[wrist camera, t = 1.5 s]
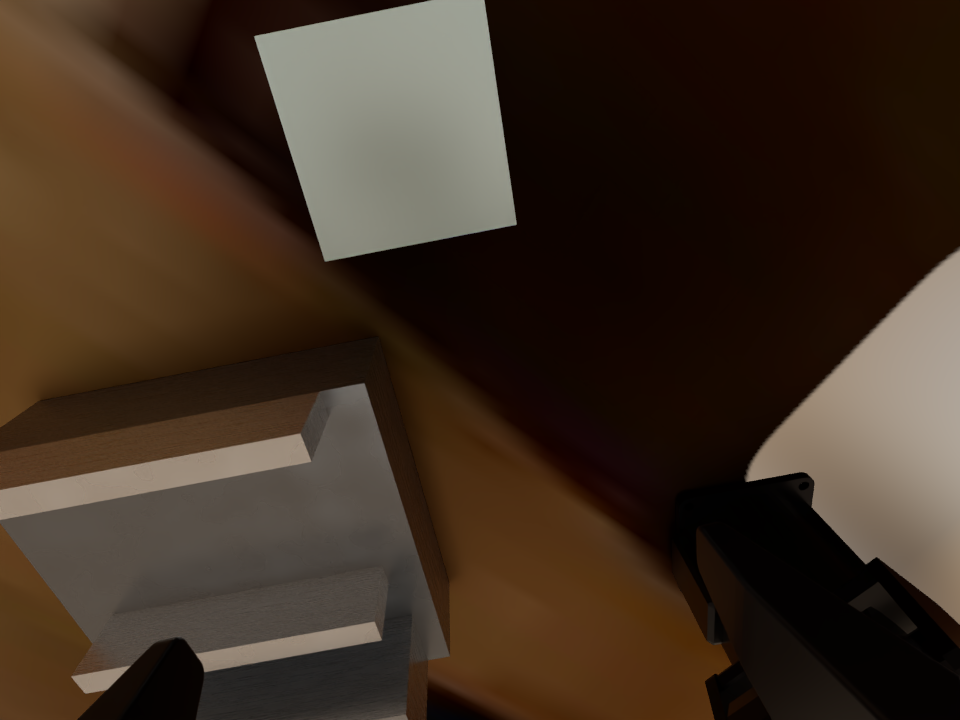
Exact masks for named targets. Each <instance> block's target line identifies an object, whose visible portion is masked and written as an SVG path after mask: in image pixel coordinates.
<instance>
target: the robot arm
mask: <svg viewBox="0 0 960 720" xmlns="http://www.w3.org/2000/svg"><path fill="white" fill-rule="evenodd" d="M813 491H814V480H812V478H811V477H810V476H809V475H808V474H807V473H803V472H799V473H794V474H788V475H783V476H777V477H772V478H767V479H762V480H756V481H750V482H745V483H739V484H734V485H728V486H723V487H717V488H712V489H706V490H701V491H696V492H690V493H685V494H682V495H681V496H679V497H678V498H677V500H676V534H674V535H673V537H672V573H673V575H674V577H675V579H676V581H677V584H678V587H679V589H680V591H681V592H682V593H683V595H684V597H685V599H686V601H687V603H688V605H689V607H690V609H691V611H692V613H693V615H694V617H695V619H696V621H697V623H698V625H699V627H700V629H701V631H702V633H703V635H704V637H705V638H706V640H707V641H708V642H709V643H711V644H712V645H716V644H721V645H722V647H723V648H724V650H725V652H726V654H727V656H728V658H729V660H730V662H731V664H732V665H731V666H730V667H728V668H727V669H725V670H724V671H723V672H721V673H720V674H719V675H717V674H714V675H713V676H711V677H710V678H709V679H707V680H706V681H705V684H706V688H707V692H708V695H709V699H710V703H711V707H712V711H713V715H714V719H715V720H960V625H959V624H958V623H957V622H956V621H955V620H954V619H953V618H952V617H951V616H950V615H949V614H948V613H947V612H945V610H943V609H942V608H941V607H940V606H939V605H938V604H937V603H935V602H934V601H933V600H932V599H930V598H929V597H928V596H926V595H925V594H924V593H923V592H921V591H920V590H919V589H917V588H916V587H915V586H914V585H912V584H911V583H909V582H908V581H907V580H906V579H905V578H903V577H902V576H900V575H899V574H898V573H897V572H895V571H894V570H893V569H891V568H890V567H889V566H888V565H886V564H885V563H884V562H883V561H881V560H880V559H879V558H877V557H876V558H875V559H873V560H872V561H870V562H869V563H868V564H865V563H864V562H863V561H862V560H861V559H860V558H859V557H858V556H857V555H856V554H855V553H854V552H853V551H852V550H851V549H850V547H849V546H848V545H847V544H846V543H845V542H844V541H843V540H842V539H841V538H840V537H839V536H838V535H837V534H836V533H835V532H834V531H833V530H832V528H831V527H830V526H829V525H828V524H827V523H826V522H825V521H824V520H823V519H822V518H821V517H820V516H819V515H818V514H817V513H816V512H815V511H814V510H813V508H812V507H811V506H812V498H813ZM687 503H689V504H688V505H686V504H687ZM203 683H204V667H203V664H202V662H201V661H200V660H199V658H198V657H197V655H196V654H195V652H194V651H193V650H192V648H191V647H190V645H189V644H188V643H187V641H186V640H185V639H184V638H182V637H173V638H168V639H164V640H160V641H157V642H155V643H154V644H152V645H151V646H150V647H149V648H148V649H147V650H146V651H145V652H144V653H143V654H142V655H141V656H140V657H139V658H138V659H137V660H136V661H135V662H134V663H133V664H132V665H131V666H130V667H129V668H128V669H127V670H126V671H125V672H124V673H123V674H122V675H121V676H120V677H119V678H118V679H117V680H116V681H115V682H114V683H113V684H112V685H111V686H110V687H109V688H108V689H107V690H106V691H105V692H104V693H103V694H102V695H101V696H100V697H99V698H98V699H97V700H96V701H95V702H94V703H93V704H92V705H91V706H90V707H89V708H88V709H87V710H86V711H85V712H84V713H83V714H82V715H81V716H80V717H79V718H78V719H77V720H196V717H197V712H198V707H199V702H200V697H201V692H202V687H203Z"/></svg>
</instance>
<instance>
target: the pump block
mask: <svg viewBox="0 0 960 720" xmlns="http://www.w3.org/2000/svg"><path fill="white" fill-rule="evenodd" d="M254 37H255V41H256V44H257V47H258V50H259V53H260V56H261V60H262V63H263V66H264V69H265V72H266V76H267V79H268V82H269V85H270V88H271V91H272V95H273V98H274V101H275V104H276V107H277V111H278V114H279V117H280V120H281V123H282V126H283V130H284V133H285V136H286V139H287V142H288V146H289V149H290V152H291V155H292V158H293V161H294V165H295V168H296V171H297V174H298V177H299V181H300V184H301V187H302V190H303V193H304V196H305V200H306V203H307V206H308V209H309V212H310V216H311V219H312V222H313V225H314V228H315V231H316V235H317V238H318V241H319V244H320V247H321V251H322V254H323V257H324V260H325V262H326V261H331V260H336V259H342V258H347V257H352V256H357V255H362V254H367V253H373V252H378V251H383V250H388V249H393V248H398V247H404V246H409V245H414V244H419V243H424V242H430V241H435V240H440V239H445V238H450V237H455V236H461V235H466V234H471V233H476V232H481V231H486V230H492V229H497V228H502V227H507V226H512V225H517V223H516V216H515V209H514V202H513V195H512V188H511V182H510V175H509V168H508V161H507V154H506V147H505V140H504V133H503V126H502V119H501V112H500V106H499V99H498V92H497V85H496V78H495V71H494V64H493V57H492V50H491V43H490V36H489V29H488V23H487V16H486V9H485V2H484V0H431V1H426V2H421V3H416V4H411V5H407V6H402V7H397V8H392V9H387V10H382V11H377V12H372V13H367V14H362V15H357V16H352V17H347V18H342V19H337V20H332V21H327V22H322V23H317V24H313V25H308V26H303V27H298V28H293V29H288V30H283V31H278V32H273V33H268V34H263V35H258V36H254Z"/></svg>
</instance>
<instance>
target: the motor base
mask: <svg viewBox="0 0 960 720" xmlns="http://www.w3.org/2000/svg"><path fill="white" fill-rule="evenodd" d="M0 523H1V525H2V526H3V527H4V529H5V530H6V531H7V533H8V534H9V535H10V536H11V538H12V539H13V540H14V542H15V543H16V544H17V546H18V547H19V548H20V549H21V551H22V552H23V553H24V555H25V556H26V557H27V559H28V560H29V561H30V563H31V564H32V565H33V566H34V568H35V569H36V570H37V572H38V573H39V574H40V576H41V577H42V578H43V579H44V581H45V582H46V583H47V585H48V586H49V587H50V589H51V590H52V591H53V592H54V594H55V595H56V596H57V598H58V599H59V600H60V602H61V603H62V604H63V606H64V607H65V608H66V609H67V611H68V612H69V613H70V615H71V616H72V617H73V619H74V620H75V621H76V622H77V624H78V625H79V626H80V628H81V629H82V630H83V632H84V633H85V634H86V636H87V637H88V638H89V639H90V641H91V642H92V643H93V645H92V646H91V648H90V649H89V651H88V652H87V654H86V655H85V657H84V658H83V660H82V661H81V662H80V664H79V665H78V667H77V668H76V670H75V671H74V673H73V674H72V676H71V677H72V678H73V679H74V681H75V682H76V683H77V684H78V685H79V687H80V688H81V689H82V690H83V691H84V693H85V694H86V693H92V692H97V691H103V690H107V689H108V688H109V687H110V686H111V685H112V684H113V683H114V682H115V681H116V680H117V679H118V678H119V677H120V676H121V675H122V674H123V673H124V672H125V671H126V670H127V669H128V668H129V667H130V666H131V665H132V664H133V663H134V662H135V661H136V660H137V659H138V658H139V657H140V656H141V655H142V654H143V653H144V652H145V651H146V650H147V649H148V648H149V647H150V646H151V645H152V644H154V643H155V642H157V641H160V640H164V639H168V638H173V637H182V638H184V639H185V640H186V641H187V643H188V644H189V645H190V647H191V648H192V650H193V651H194V652H195V654H196V655H197V657H198V658H199V660H200V661H201V662H202V664H203V667H204V683H203V687H202V692H201V697H200V702H199V707H198V712H197V717H196V720H426V708H427V674H428V660H431V659H437V658H442V657H448V656H450V617H449V581H448V577H447V574H446V570H445V567H444V563H443V560H442V556H441V553H440V549H439V546H438V542H437V539H436V535H435V532H434V528H433V525H432V521H431V518H430V514H429V511H428V508H427V504H426V501H425V497H424V494H423V490H422V487H421V483H420V480H419V476H418V473H417V469H416V466H415V462H414V459H413V455H412V452H411V448H410V445H409V441H408V438H407V434H406V431H405V427H404V424H403V420H402V417H401V414H400V410H399V407H398V403H397V400H396V396H395V393H394V389H393V386H392V382H391V379H390V375H389V372H388V368H387V365H386V361H385V358H384V354H383V351H382V347H381V344H380V340H379V337H373V338H368V339H362V340H357V341H352V342H347V343H341V344H336V345H331V346H326V347H320V348H315V349H310V350H305V351H299V352H294V353H289V354H284V355H279V356H273V357H268V358H263V359H258V360H252V361H247V362H242V363H237V364H231V365H226V366H221V367H216V368H210V369H205V370H200V371H195V372H189V373H184V374H179V375H174V376H168V377H163V378H158V379H153V380H147V381H142V382H137V383H132V384H126V385H121V386H116V387H111V388H105V389H100V390H95V391H90V392H85V393H79V394H74V395H69V396H64V397H58V398H53V399H48V400H43V401H38V402H37V403H35V404H34V405H32V406H31V407H29V408H28V409H27V410H25V411H24V412H22V413H21V414H19V415H18V416H17V417H15V418H14V419H12V420H11V421H9V422H8V423H6V424H5V425H4V426H2V427H1V428H0Z"/></svg>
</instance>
